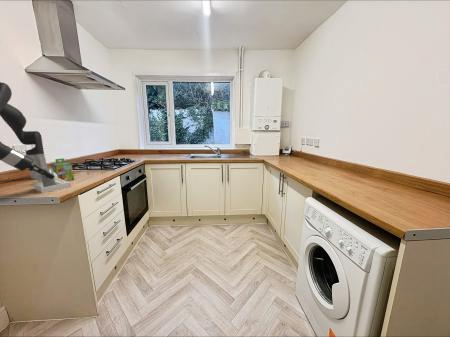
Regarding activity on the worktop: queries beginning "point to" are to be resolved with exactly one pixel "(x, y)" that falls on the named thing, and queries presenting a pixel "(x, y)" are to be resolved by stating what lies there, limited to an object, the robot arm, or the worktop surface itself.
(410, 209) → the worktop surface
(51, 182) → the grey domed cylinder
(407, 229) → the worktop surface
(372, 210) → the worktop surface
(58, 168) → the chalk box
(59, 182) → the white divided tray
